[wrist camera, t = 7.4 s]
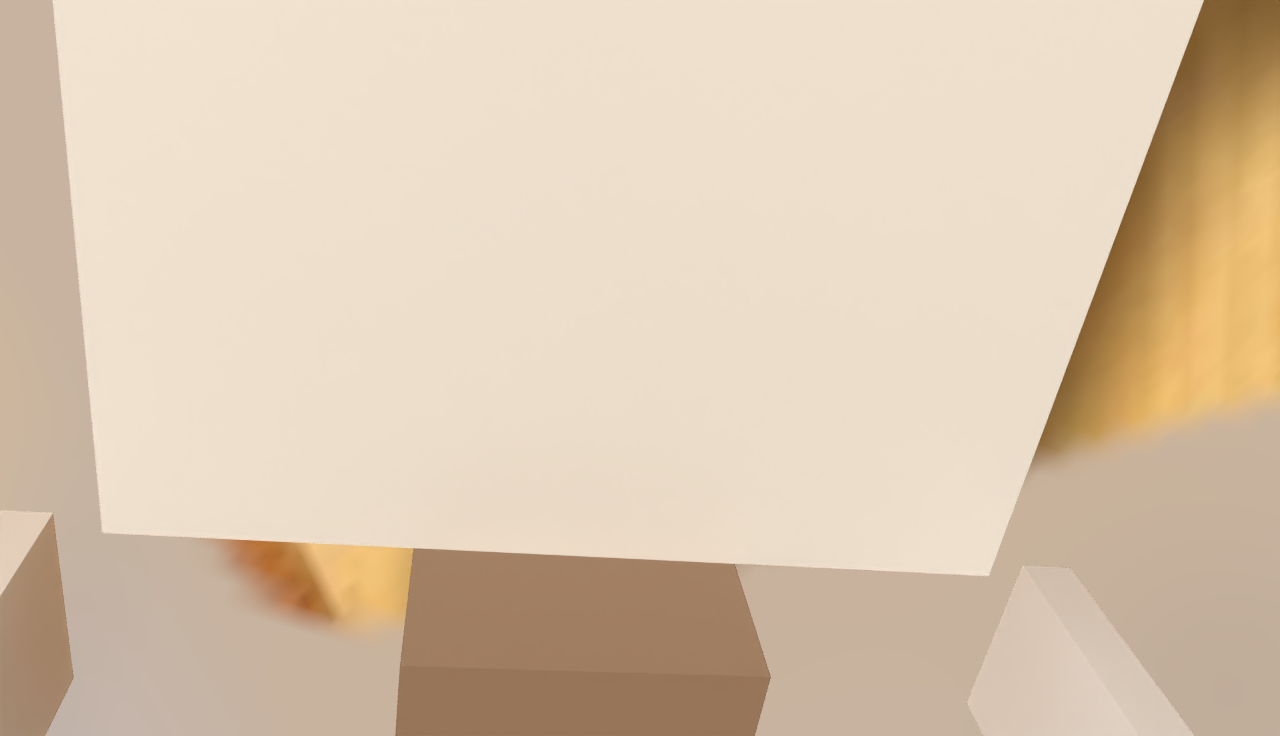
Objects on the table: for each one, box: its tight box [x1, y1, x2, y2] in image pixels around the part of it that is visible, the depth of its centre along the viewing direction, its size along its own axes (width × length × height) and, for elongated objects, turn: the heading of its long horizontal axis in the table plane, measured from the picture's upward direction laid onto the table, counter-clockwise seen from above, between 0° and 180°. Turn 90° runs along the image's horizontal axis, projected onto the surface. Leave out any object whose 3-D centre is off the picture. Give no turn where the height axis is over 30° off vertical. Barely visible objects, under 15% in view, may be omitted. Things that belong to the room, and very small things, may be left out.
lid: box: [53, 0, 1204, 736], centre depth 10 cm, size 20×11×4 cm, turn 171°
